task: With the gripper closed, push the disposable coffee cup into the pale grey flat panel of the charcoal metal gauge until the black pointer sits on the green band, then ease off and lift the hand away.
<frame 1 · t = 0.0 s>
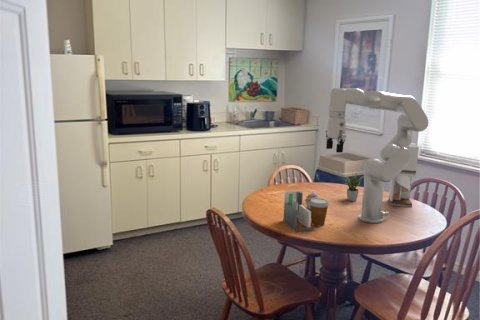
hand: (334, 150, 196), 37 cm above the table, tool pointing down, fingers open, 9 cm apart
disposable coffee cup: (317, 224, 201), on the table
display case: (399, 203, 238), on the table
gauge frame: (299, 225, 199), on the table
house plant: (353, 200, 241), on the table
pale grey flat panel: (304, 209, 198), point 8 cm above the table, slide at 0.0 cm
cupcake: (312, 209, 224), on the table
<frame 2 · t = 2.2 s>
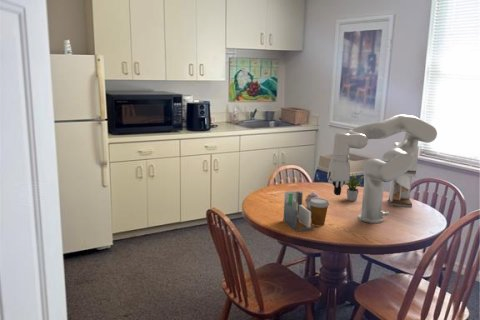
hand: (337, 194, 201), 15 cm above the table, tool pointing down, fingers closed
nothing on the table moved.
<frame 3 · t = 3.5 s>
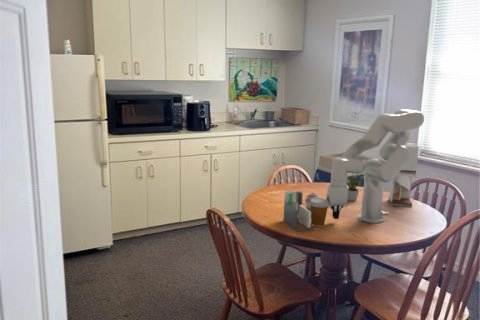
hand: (335, 218, 204), 2 cm above the table, tool pointing down, fingers closed
nothing on the table moved.
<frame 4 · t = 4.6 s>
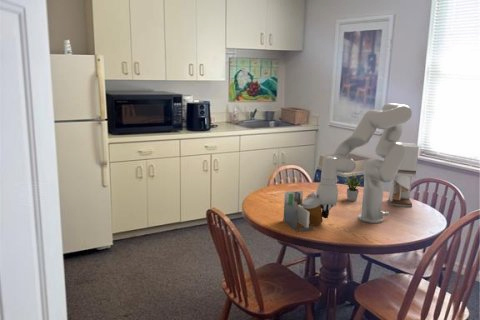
hand: (324, 217, 202), 3 cm above the table, tool pointing down, fingers closed
disposable coffee cup: (316, 222, 201), point 1 cm above the table, touching pale grey flat panel, gripper
pale grey flat panel: (302, 209, 198), point 8 cm above the table, slide at 0.9 cm, touching disposable coffee cup
everything else where it was.
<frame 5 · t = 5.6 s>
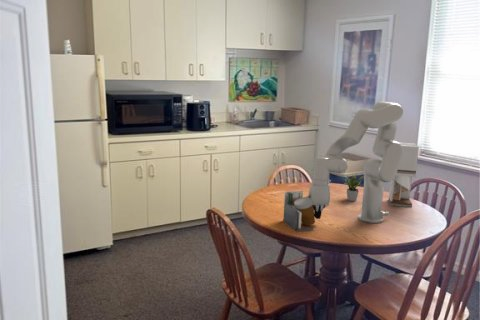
hand: (317, 218, 201), 3 cm above the table, tool pointing down, fingers closed
disposable coffee cup: (308, 223, 200), point 1 cm above the table, touching pale grey flat panel, gripper
pale grey flat panel: (294, 210, 197), point 8 cm above the table, slide at 5.0 cm, touching disposable coffee cup
everything else where it was.
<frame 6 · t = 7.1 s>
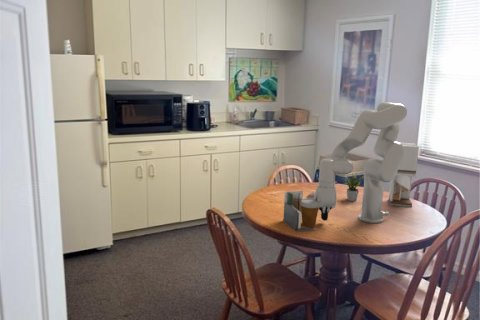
hand: (324, 219, 202), 2 cm above the table, tool pointing down, fingers closed
disposable coffee cup: (308, 224, 200), on the table
pale grey flat panel: (294, 210, 197), point 8 cm above the table, slide at 5.1 cm
everything else where it was.
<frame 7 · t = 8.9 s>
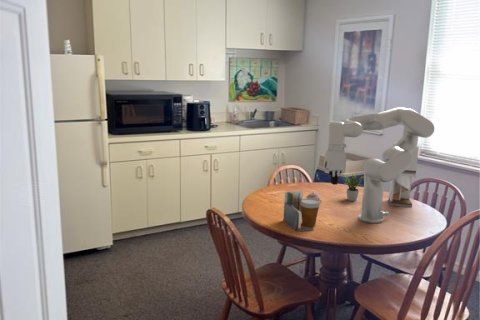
hand: (334, 183, 201), 20 cm above the table, tool pointing down, fingers closed
nothing on the table moved.
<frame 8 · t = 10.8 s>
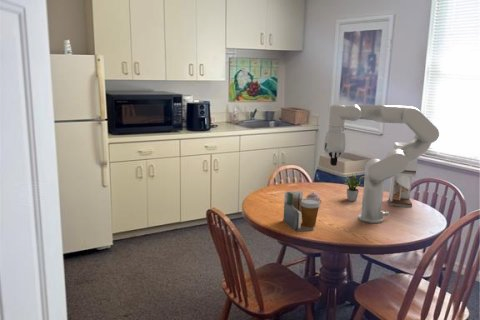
hand: (333, 165, 209), 27 cm above the table, tool pointing down, fingers closed
nothing on the table moved.
at the end: pale grey flat panel slide at 5.1 cm; disposable coffee cup tilted 0°; disposable coffee cup moved 4.9 cm from its start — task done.
